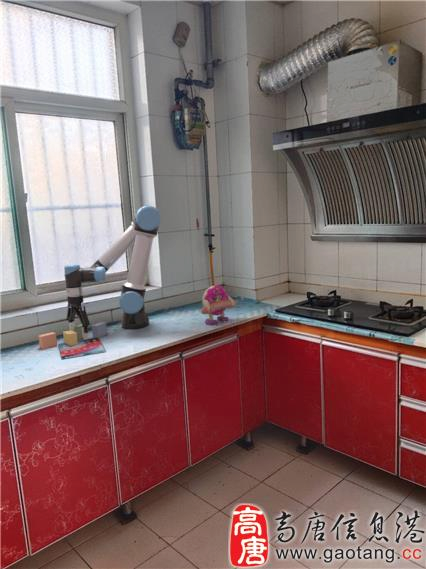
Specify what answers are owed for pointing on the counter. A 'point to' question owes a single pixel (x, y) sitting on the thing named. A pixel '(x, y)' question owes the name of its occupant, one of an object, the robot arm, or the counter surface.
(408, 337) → the counter surface
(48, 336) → the terracotta brick
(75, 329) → the green brick
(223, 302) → the toy
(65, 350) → the magazine
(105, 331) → the slate brick
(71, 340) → the mustard brick
